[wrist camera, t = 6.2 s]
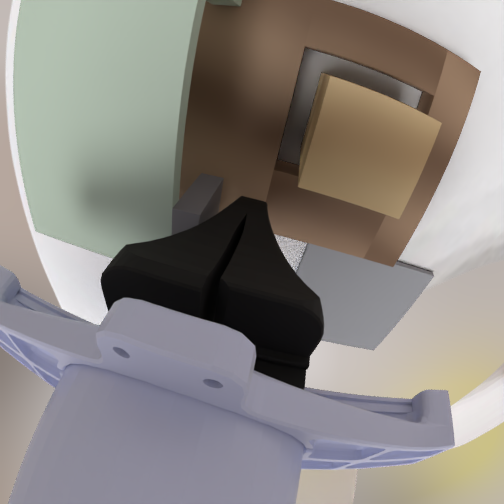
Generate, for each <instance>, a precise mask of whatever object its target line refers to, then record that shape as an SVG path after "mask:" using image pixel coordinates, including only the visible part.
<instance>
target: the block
mask: <svg viewBox="0 0 504 504" xmlns="http://www.w3.org/2000/svg"><path fill="white" fill-rule="evenodd" d="M441 124H442V123H441V122H439V121H437V120H435V119H434V118H432V117H430V116H428V115H426V114H424V113H422V112H421V111H419V110H417V109H415V108H413V107H411V106H409V105H407V104H404V103H402V102H400V101H398V100H396V99H394V98H391V97H389V96H386V95H384V94H382V93H379V92H377V91H374V90H372V89H369V88H366V87H364V86H361V85H358V84H356V83H353V82H350V81H347V80H344V79H341V78H338V77H335V76H332V75H328V74H325V73H322V72H321V76H320V79H319V83H318V87H317V90H316V94H315V98H314V101H313V105H312V108H311V112H310V116H309V119H308V123H307V126H306V130H305V133H304V137H303V140H302V144H301V151H300V165H299V179H298V187H299V188H303V189H306V190H310V191H313V192H317V193H320V194H323V195H327V196H330V197H333V198H337V199H340V200H343V201H346V202H349V203H352V204H355V205H358V206H362V207H365V208H368V209H370V210H373V211H376V212H379V213H382V214H385V215H388V216H391V217H393V218H396V219H400V217H401V215H402V213H403V211H404V209H405V207H406V205H407V203H408V201H409V199H410V197H411V195H412V192H413V190H414V188H415V186H416V184H417V182H418V180H419V177H420V175H421V173H422V171H423V168H424V166H425V164H426V161H427V159H428V157H429V154H430V152H431V150H432V147H433V145H434V142H435V140H436V137H437V135H438V132H439V129H440V127H441Z"/></svg>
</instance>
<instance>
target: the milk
mask: <svg viewBox="0 0 504 504" xmlns="http://www.w3.org/2000/svg"><path fill="white" fill-rule="evenodd" d="M357 470H358V469H340V470H309V469H301V473H300V480H299V486H298V493H297V499H296V504H353V500H354V493H355V486H356V478H357Z"/></svg>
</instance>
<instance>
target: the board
mask: <svg viewBox="0 0 504 504" xmlns="http://www.w3.org/2000/svg"><path fill="white" fill-rule="evenodd" d="M305 48H307V49H311V50H314V51H318V52H322V53H325V54H329V55H332V56H335V57H338V58H341V59H344V60H347V61H350V62H353V63H356V64H359V65H362V66H364V67H367V68H370V69H372V70H375V71H377V72H380V73H382V74H385V75H387V76H390V77H392V78H394V79H397V80H399V81H401V82H403V83H405V84H407V85H410V86H412V87H414V88H416V89H418V90H420V91H422V95H421V98H420V101H419V104H418V107H417V110H419V111H421V112H422V113H424V114H426V115H428V116H430V117H432V118H434V119H435V120H437V121H439V122H441V123H442V124H441V127H440V129H439V132H438V135H437V137H436V140H435V142H434V145H433V147H432V150H431V152H430V154H429V157H428V159H427V161H426V164H425V166H424V168H423V171H422V173H421V175H420V177H419V180H418V182H417V184H416V186H415V188H414V190H413V192H412V195H411V197H410V199H409V201H408V203H407V205H406V207H405V209H404V211H403V213H402V215H401V217H400V219H396V218H393V217H391V216H388V215H385V214H382V213H379V212H376V211H373V210H370V209H368V208H365V207H362V206H358V205H355V204H352V203H349V202H346V201H343V200H340V199H337V198H333V197H330V196H327V195H323V194H320V193H317V192H313V191H310V190H306V189H303V188H299V187H298V179H299V165H296V164H292V163H288V162H285V161H281V160H277V157H278V153H279V149H280V145H281V141H282V137H283V133H284V129H285V125H286V121H287V117H288V113H289V109H290V105H291V101H292V97H293V93H294V89H295V85H296V81H297V77H298V73H299V69H300V65H301V61H302V57H303V53H304V49H305ZM480 73H481V71H479V70H478V69H476V68H475V67H474V66H472V65H471V64H469V63H468V62H466V61H465V60H463V59H462V58H460V57H458V56H457V55H455V54H454V53H452V52H450V51H449V50H447V49H445V48H444V47H442V46H440V45H438V44H437V43H435V42H433V41H431V40H429V39H427V38H426V37H424V36H422V35H420V34H418V33H416V32H414V31H412V30H410V29H407V28H405V27H403V26H401V25H399V24H396V23H394V22H392V21H389V20H387V19H385V18H382V17H380V16H377V15H375V14H372V13H369V12H367V11H364V10H361V9H358V8H355V7H352V6H349V5H346V4H343V3H339V2H336V1H332V0H242V3H241V7H239V6H228V5H213V4H211V3H209V2H207V1H206V2H205V7H204V11H203V16H202V21H201V26H200V31H199V36H198V42H197V47H196V53H195V59H194V65H193V71H192V78H191V84H190V91H189V99H188V107H187V115H186V123H185V132H184V142H183V153H182V164H181V177H180V191H179V199H180V198H181V197H182V196H183V194H184V193H185V192H186V191H187V190H188V188H189V187H190V186H191V185H192V184H193V182H194V181H195V180H196V179H197V178H198V176H199V175H200V174H201V173H204V174H208V175H213V176H217V177H222V178H224V180H223V186H222V193H221V199H220V206H219V212H220V211H222V210H223V209H225V208H226V207H228V206H229V205H230V204H231V203H233V202H234V201H235V200H236V199H238V198H239V197H241V196H245V197H249V198H253V199H257V200H261V201H264V202H266V203H267V205H268V215H269V220H270V224H271V227H272V230H273V233H274V234H276V235H280V236H284V237H288V238H291V239H295V240H299V241H302V242H306V243H310V244H313V245H317V246H320V247H324V248H328V249H331V250H335V251H338V252H342V253H345V254H349V255H353V256H356V257H360V258H363V259H367V260H370V261H373V262H377V263H380V264H384V265H387V266H391V267H394V265H395V263H396V262H397V260H398V259H399V257H400V255H401V254H402V252H403V250H404V249H405V247H406V245H407V243H408V242H409V240H410V238H411V236H412V235H413V233H414V231H415V229H416V228H417V226H418V224H419V222H420V220H421V218H422V216H423V215H424V213H425V211H426V209H427V207H428V205H429V203H430V201H431V199H432V197H433V195H434V193H435V191H436V189H437V187H438V185H439V183H440V180H441V178H442V176H443V174H444V172H445V170H446V167H447V165H448V163H449V161H450V158H451V156H452V153H453V151H454V149H455V146H456V144H457V141H458V139H459V136H460V134H461V131H462V128H463V126H464V123H465V120H466V117H467V115H468V112H469V109H470V106H471V103H472V100H473V97H474V93H475V90H476V87H477V83H478V80H479V76H480Z"/></svg>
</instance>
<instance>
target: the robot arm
mask: <svg viewBox="0 0 504 504" xmlns="http://www.w3.org/2000/svg"><path fill="white" fill-rule="evenodd" d="M101 286H102V290H103V294H104V298H105V301H106V305H107V308H108V311H109V312H108V313H107V315H106V317H105V318H104V320H103V321H102V323H101V325H96V324H93V323H91V322H88V321H86V320H84V319H82V318H80V317H77V316H75V315H73V314H71V313H69V312H67V311H65V310H63V309H61V308H59V307H57V306H55V305H52V304H51V303H49V302H47V301H45V300H43V299H41V298H39V297H37V296H35V295H34V294H32V293H30V292H28V291H26V290H24V289H23V288H21V285H20V283H19V281H18V279H17V277H16V276H15V274H14V273H12V272H11V271H10V270H8V269H6V268H4V267H3V266H1V265H0V347H1V348H3V349H4V350H5V351H6V352H8V353H9V354H10V355H11V356H13V357H14V358H15V359H16V360H18V361H19V362H20V363H21V364H23V365H24V366H26V367H27V368H28V369H29V370H31V371H32V372H33V373H35V374H36V375H37V376H39V377H40V378H41V379H43V380H44V381H46V382H47V383H49V384H50V385H51V386H53V387H55V390H54V392H53V394H52V396H51V398H50V400H49V402H48V405H47V406H46V408H45V411H44V413H43V415H42V417H41V419H40V421H39V424H38V426H37V428H36V430H35V432H34V435H33V437H32V440H31V442H30V444H29V447H28V449H27V451H26V454H25V457H24V459H23V462H22V464H21V467H20V470H19V472H18V475H17V478H16V481H15V484H14V487H13V490H12V493H11V496H10V499H9V502H8V504H296V499H297V493H298V486H299V480H300V473H301V469H309V470H340V469H361V468H375V467H387V466H396V465H407V464H414V463H417V462H419V461H422V460H425V459H427V458H429V457H432V456H434V455H437V454H439V453H441V452H443V451H446V450H448V449H450V448H453V447H454V445H455V442H454V431H453V422H452V414H451V407H450V400H449V394H448V391H447V390H425V391H422V392H420V393H419V394H417V395H416V396H414V398H412V399H402V398H387V397H375V396H364V395H355V394H347V393H340V392H332V391H325V390H319V389H313V388H307V387H305V376H306V369H308V367H309V360H310V355H311V354H312V352H313V351H314V350H315V348H316V347H317V345H318V344H319V342H320V341H321V339H322V337H323V334H324V317H323V310H322V305H321V300H320V297H319V296H318V295H317V294H316V293H315V292H314V291H313V290H312V289H310V288H309V287H308V286H307V285H306V284H305V283H304V282H303V281H302V279H301V278H300V277H299V276H298V275H297V274H296V273H295V271H294V270H293V269H292V267H291V266H290V264H289V263H288V262H287V260H286V258H285V257H284V255H283V253H282V251H281V249H280V247H279V245H278V243H277V241H276V238H275V236H274V233H273V230H272V227H271V224H270V220H269V215H268V205H267V203H266V202H264V201H261V200H257V199H253V198H249V197H245V196H241V197H239V198H238V199H236V200H235V201H234V202H233V203H231V204H230V205H229V206H228V207H226V208H225V209H223V210H222V211H220V212H219V213H218V214H216V215H214V216H213V217H211V218H209V219H208V220H206V221H204V222H203V223H201V224H199V225H197V226H195V227H192V228H190V229H188V230H185V231H182V232H179V233H177V234H174V235H171V236H167V237H164V238H160V239H156V240H151V241H146V242H140V243H134V244H126V245H125V246H124V247H123V248H122V249H121V250H120V251H119V252H118V253H117V255H116V256H115V257H114V259H113V260H112V261H111V262H110V264H109V265H108V266H107V268H106V269H105V271H104V272H103V273H102V277H101Z"/></svg>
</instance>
